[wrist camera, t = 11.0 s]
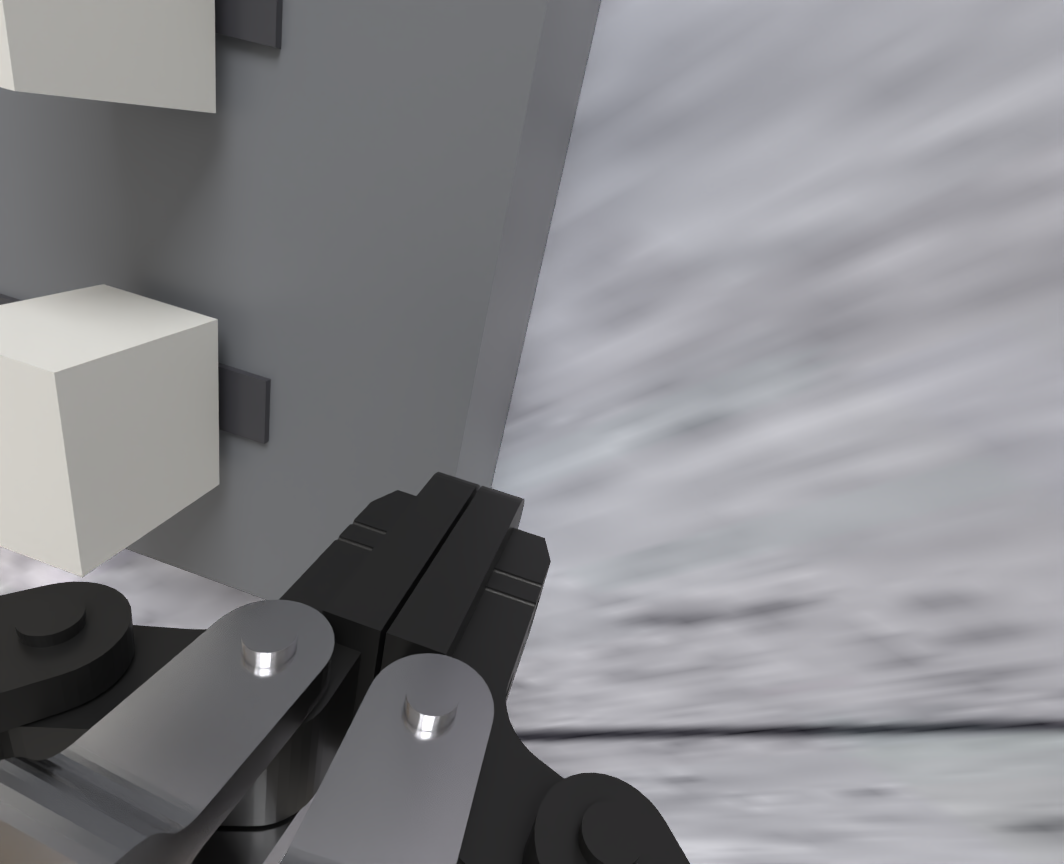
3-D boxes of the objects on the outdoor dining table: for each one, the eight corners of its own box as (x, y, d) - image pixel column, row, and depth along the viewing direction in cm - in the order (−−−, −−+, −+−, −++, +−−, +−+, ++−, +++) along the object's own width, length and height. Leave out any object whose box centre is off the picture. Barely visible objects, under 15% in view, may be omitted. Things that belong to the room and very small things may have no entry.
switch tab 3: (218, 319, 11) (54, 371, 8) (219, 484, 13) (82, 577, 10) (103, 284, 11) (-94, 323, 8) (119, 449, 13) (-43, 530, 10)
